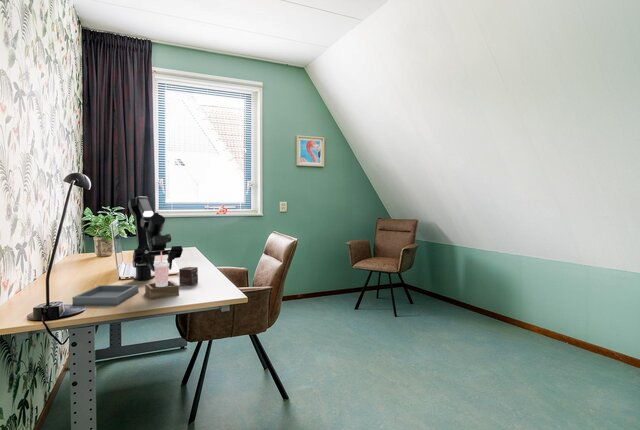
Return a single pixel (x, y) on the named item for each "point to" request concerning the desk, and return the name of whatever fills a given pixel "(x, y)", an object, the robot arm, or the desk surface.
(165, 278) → the beverage cup
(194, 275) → the box
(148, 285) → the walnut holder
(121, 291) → the charcoal tray
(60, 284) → the desk surface
